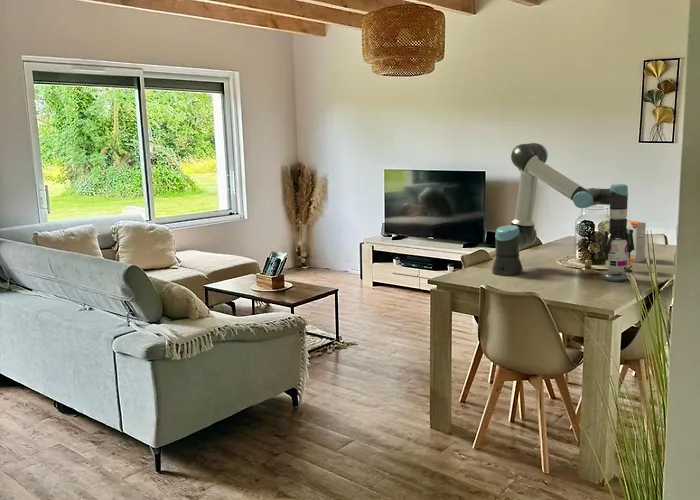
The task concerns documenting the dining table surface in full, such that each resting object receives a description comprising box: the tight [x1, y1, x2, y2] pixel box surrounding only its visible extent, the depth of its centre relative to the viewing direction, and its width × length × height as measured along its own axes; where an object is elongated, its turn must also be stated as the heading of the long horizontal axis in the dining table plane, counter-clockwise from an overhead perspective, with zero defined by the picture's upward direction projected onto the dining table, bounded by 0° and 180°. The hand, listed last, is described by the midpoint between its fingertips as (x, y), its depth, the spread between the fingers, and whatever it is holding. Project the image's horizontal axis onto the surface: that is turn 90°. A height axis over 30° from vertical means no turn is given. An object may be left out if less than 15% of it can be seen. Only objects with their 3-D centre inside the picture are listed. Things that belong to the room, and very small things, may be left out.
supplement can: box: [607, 238, 628, 272], centre depth 295 cm, size 8×8×15 cm
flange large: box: [602, 271, 631, 283], centre depth 297 cm, size 12×12×3 cm
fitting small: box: [580, 259, 597, 276], centre depth 311 cm, size 7×7×6 cm
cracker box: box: [626, 219, 647, 264], centre depth 335 cm, size 14×6×21 cm, turn 16°
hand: (616, 266), depth 296 cm, fingers closed on supplement can, 8 cm apart
